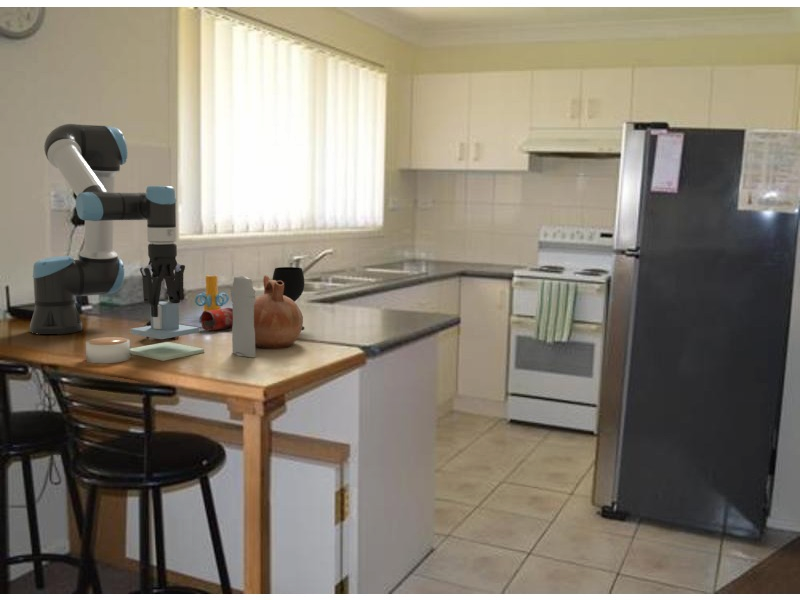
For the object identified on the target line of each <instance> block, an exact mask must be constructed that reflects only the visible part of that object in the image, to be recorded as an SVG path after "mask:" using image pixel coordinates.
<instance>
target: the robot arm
mask: <svg viewBox="0 0 800 600" xmlns="http://www.w3.org/2000/svg"><path fill="white" fill-rule="evenodd" d="M43 148H44V154H45V157H46V159H47V160H48V162H49V164H51V165H52V166H53V167H54V168H56V169H58V170H59V172H60V174H61V175H62V176H63V178H64V180H65V181H66V182H67V185H69V187H70V188H71V190H72V191H73V193H74V194H75V196H76V198H75V210H76V213H77V217H78V218H79V219H80V220H82V221H84V248H83V249H82V250H81V251H80V252H79V254H78V255H79V257H78V259H75V258H74V257H73V256H72V255H61V256H59V255H58V256H52V257H46V258H42V259H41V258H40V259H38V260H36V261H35V262H34V264H33V266H32V268H33V270H32V278H33V291H34V292H33V294H34V296H33V297H34V310H33V313H32V318H31V321H30V323H29V332H30V331H31V332H33V333H38V334H37V335H40V334H57V335H66V334H73V333H78V332H80V331H82V330H83V322H82V320H81V318H80V315H79V312H78V309H77V307H76V298H77V297H88V296H89V297H90V296H100V295H101V296H106V295H111V294H116V293H117V292H118V291H119V290H120V289H121V288H122V286H123V283H124V280H125V268H124V262H123V260H122V259H121V258H119V256H118V254H119V253H117V252H116V251H115V250H114V221H146V222H147V223H146V224H147V225H146V226H147V228H146V229H147V242H148V244H147V255H148V258H149V261H148V265H147V266H144V267H140V268H139V271H140V275H141V276H142V277H141V278H142V292H143V293H142V295H143V303H145V304H147V305H151V315H150V317H151V316H152V317H153V328H155V329H162V313H161V305H158V304H159V302H160V298H161V297H160V296H161V290H162V289H161V288H162V282H163V281H164V282H165V286H166V287H165V288H166V291H167V296H168V301H169V302H170V303H177V304H180V302H181V301H182V300H184V272H185V269H186V265H185V264H180V263H178V262H177V259H176V258H177V256H178V248H177V246H178V245H177V244H176V243H175V242H177V216H176V214H177V213H176V211H177V210H176V209H177V208H176V207H177V205H176V204H177V203H176V202H177V200H176V192H175V191H176V190H175V188H174V187H173V186H170V185H165V186H164V185H149V186H147V187H146V190H145V191H146V192H115V177H116V175H117V174H118V173H120V170H121V166H122V165H125V164H126V163H127V159H128V146H127V142H126V138H125V136H124V134H123V132H122V131H121V130H120V129H119V128H118V127H114V126H108V125H107V126H106V125H96V124H94V125H93V124H76V123H66V124H65V123H64V124H62V125H59V126H56V127H55V128H54V129H53V130H51V131H50V132H49V134H48V135H47V136H46V139H45V141H44V146H43ZM33 333H32V334H33Z"/></svg>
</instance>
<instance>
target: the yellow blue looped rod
mask: <svg viewBox="0 0 800 600" xmlns="http://www.w3.org/2000/svg"><path fill="white" fill-rule="evenodd" d="M218 291H219V290H218V275H217V274H206V275H205V292H201V293H200V294H197V295H196V296H195V298H194V303H195V304H196V306H198V307H203V311H202V313H203V312H204V311H210V310H217V309H222V308H221V307H223V306H224V305H226V304H227V303H228V302H229V295H228V294H227V293H225V292H220V293H218ZM224 296H225V297H226V299H225V297H224ZM198 298H199V299H200V300H199V301H200V303H199V302H198ZM203 299H204V300H203ZM220 299H221V300H222V301H220Z"/></svg>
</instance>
